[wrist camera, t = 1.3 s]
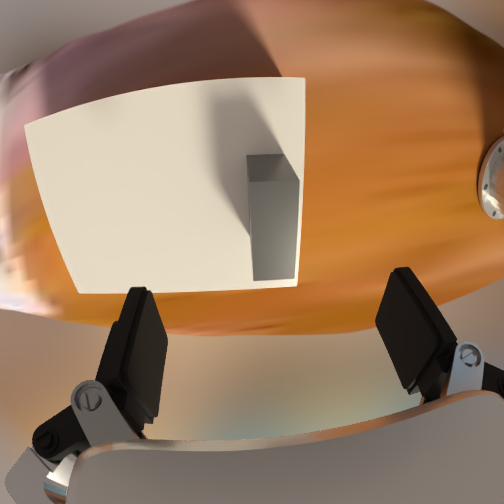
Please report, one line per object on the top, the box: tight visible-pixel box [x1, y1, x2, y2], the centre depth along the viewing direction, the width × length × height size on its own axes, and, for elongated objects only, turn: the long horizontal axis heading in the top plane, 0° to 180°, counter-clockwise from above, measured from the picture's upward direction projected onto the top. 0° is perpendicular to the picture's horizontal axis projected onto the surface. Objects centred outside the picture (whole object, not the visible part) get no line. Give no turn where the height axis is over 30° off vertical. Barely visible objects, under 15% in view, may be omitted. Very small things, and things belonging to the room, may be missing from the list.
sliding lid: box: [24, 77, 305, 293], centre depth 17 cm, size 20×16×6 cm
